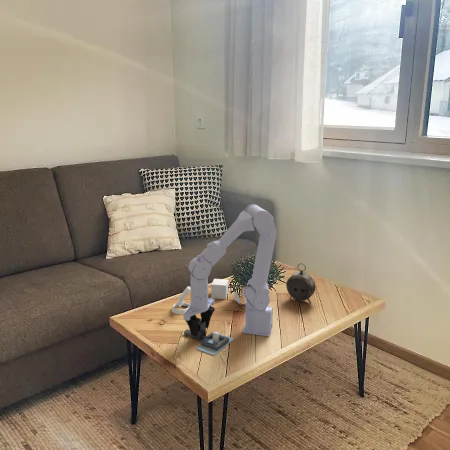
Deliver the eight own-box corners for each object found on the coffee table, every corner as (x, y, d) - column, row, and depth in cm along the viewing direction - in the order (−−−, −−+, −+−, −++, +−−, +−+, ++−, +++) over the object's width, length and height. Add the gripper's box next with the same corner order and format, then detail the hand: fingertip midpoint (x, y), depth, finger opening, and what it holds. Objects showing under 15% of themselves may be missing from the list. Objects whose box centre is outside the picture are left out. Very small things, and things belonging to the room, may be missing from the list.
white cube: (214, 292, 193) (214, 278, 191) (228, 293, 192) (228, 279, 190) (211, 298, 187) (211, 284, 186) (225, 299, 186) (226, 285, 185)
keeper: (196, 349, 151) (196, 337, 149) (217, 333, 160) (217, 322, 159) (213, 355, 147) (213, 344, 146) (234, 339, 156) (234, 328, 155)
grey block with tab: (179, 337, 157) (178, 321, 156) (191, 329, 163) (191, 313, 161) (217, 350, 149) (216, 333, 147) (229, 341, 154) (228, 324, 153)
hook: (203, 302, 172) (187, 294, 169) (185, 323, 176) (169, 315, 174) (202, 290, 178) (187, 282, 176) (184, 310, 183) (169, 303, 180)
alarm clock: (315, 302, 184) (317, 264, 179) (309, 307, 179) (312, 268, 175) (289, 296, 189) (291, 258, 185) (283, 301, 185) (285, 262, 180)
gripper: (202, 283, 160) (202, 319, 164) (175, 298, 149) (176, 336, 152) (219, 288, 156) (219, 324, 160) (193, 304, 145) (193, 343, 149)
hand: (199, 331), depth 156 cm, fingers open, 6 cm apart
